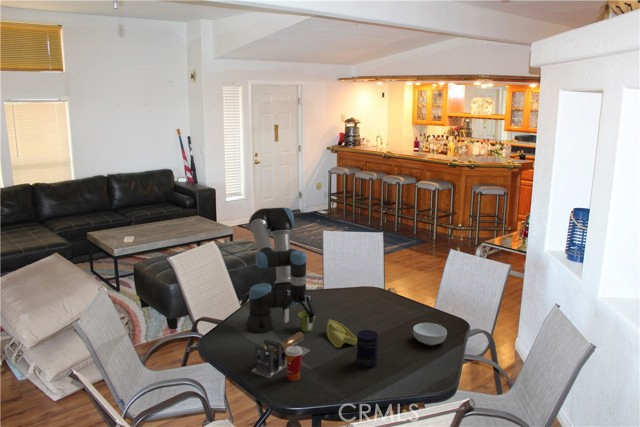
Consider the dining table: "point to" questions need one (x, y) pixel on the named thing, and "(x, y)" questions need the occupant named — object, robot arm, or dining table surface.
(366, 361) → the storage jar
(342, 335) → the plastic component
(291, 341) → the copper tube
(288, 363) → the paper cup
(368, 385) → the dining table surface
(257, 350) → the rail
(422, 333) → the cereal bowl
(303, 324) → the plant pot
